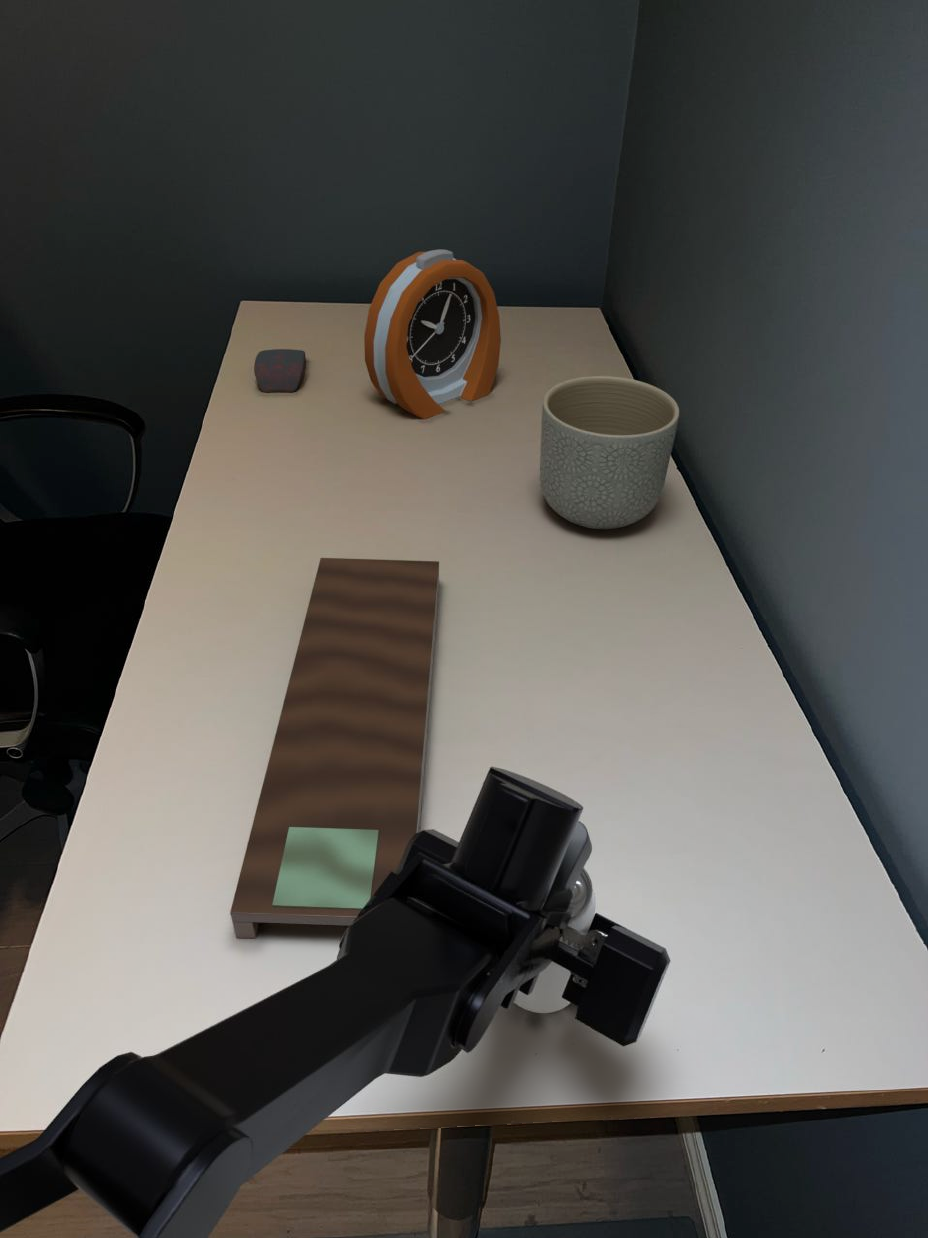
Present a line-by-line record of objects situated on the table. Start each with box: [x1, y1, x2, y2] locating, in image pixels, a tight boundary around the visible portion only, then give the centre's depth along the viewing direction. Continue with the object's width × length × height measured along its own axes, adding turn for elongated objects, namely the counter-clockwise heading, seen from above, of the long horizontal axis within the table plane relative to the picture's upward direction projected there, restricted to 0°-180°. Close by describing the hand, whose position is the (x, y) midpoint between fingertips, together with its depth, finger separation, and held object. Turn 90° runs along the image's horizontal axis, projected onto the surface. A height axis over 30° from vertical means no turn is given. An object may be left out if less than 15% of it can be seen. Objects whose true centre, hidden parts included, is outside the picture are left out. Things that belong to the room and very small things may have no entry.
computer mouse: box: [253, 348, 306, 393], centre depth 154 cm, size 8×14×4 cm, turn 3°
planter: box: [539, 375, 680, 530], centre depth 120 cm, size 17×17×15 cm
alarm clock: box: [363, 249, 502, 420], centre depth 143 cm, size 22×10×23 cm, turn 132°
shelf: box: [229, 557, 440, 939], centre depth 91 cm, size 48×14×4 cm, turn 178°
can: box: [513, 867, 597, 1014], centre depth 68 cm, size 6×6×12 cm
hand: (554, 914), depth 69 cm, fingers closed on can, 6 cm apart
